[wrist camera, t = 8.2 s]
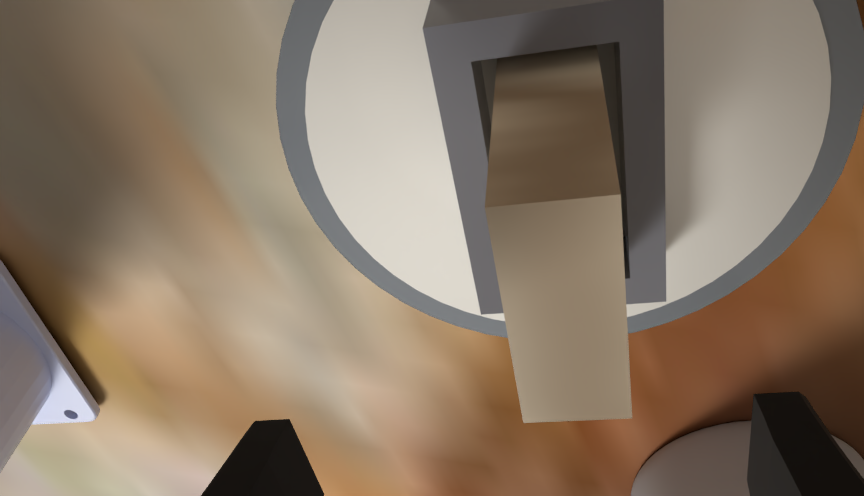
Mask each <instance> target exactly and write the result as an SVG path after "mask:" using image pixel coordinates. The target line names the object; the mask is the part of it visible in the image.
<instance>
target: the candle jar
mask: <svg viewBox="0 0 864 496" xmlns="http://www.w3.org/2000/svg"><path fill="white" fill-rule="evenodd" d="M590 45H597V50H598V56H599V62H600V68H601V75H602V81H603V87H604V93H605V99H606V106H607V112H608V118H609V124H610V130H611V137H612V143H613V149H614V155H615V161H616V168H617V174H618V180H619V186H620V193H621V208H622V228H623V248H624V268H625V288H626V308H627V328H628V333H633V332H638V331H641V330H645V329H648V328H651V327H655V326H658V325H661V324H664V323H668V322H671V321H673V320H675V319H678V318H680V317H683V316H685V315H688V314H690V313H692V312H695V311H697V310H700V309H701V308H703V307H705V306H707V305H709V304H711V303H713V302H715V301H717V300H718V299H720V298H722V297H724V296H726V295H728V294H729V293H731V292H732V291H734V290H735V289H737V288H738V287H740V286H741V285H743V284H744V283H746V282H747V281H749V280H750V279H752V278H753V277H755V276H756V275H757V274H758V273H760V272H761V271H762V270H763V269H764V268H766V267H767V266H768V265H769V264H770V263H771V262H773V261H774V260H775V259H776V258H777V257H779V256H780V255H781V254H782V253H783V252H784V251H785V250H786V249H787V248H788V247H789V246H790V245H791V243H792V242H793V241H794V240H795V239H796V238H797V237H798V236H799V235H800V234H801V233H802V232H803V231H804V230H805V228H806V227H807V226H808V224H809V223H810V222H811V220H812V219H813V218H814V216H815V215H816V214H817V212H818V211H819V210H820V208H821V207H822V206H823V204H824V203H825V201H826V200H827V198H828V196H829V194H830V193H831V191H832V189H833V187H834V185H835V184H836V182H837V180H838V178H839V177H840V175H841V173H842V171H843V169H844V166H845V163H846V161H847V158H848V156H849V153H850V151H851V148H852V146H853V143H854V141H855V138H856V134H857V130H858V125H859V121H860V117H861V113H862V109H863V105H864V30H863V26H862V22H861V18H860V14H859V9H858V5H857V1H856V0H295V2H294V4H293V6H292V9H291V13H290V16H289V19H288V22H287V25H286V29H285V32H284V35H283V38H282V43H281V49H280V56H279V62H278V68H277V86H276V109H277V117H278V124H279V132H280V139H281V143H282V147H283V150H284V154H285V157H286V161H287V165H288V168H289V171H290V173H291V176H292V178H293V180H294V183H295V185H296V187H297V190H298V192H299V194H300V197H301V198H302V200H303V202H304V204H305V205H306V207H307V209H308V210H309V212H310V214H311V215H312V217H313V219H314V220H315V222H316V224H317V225H318V226H319V228H320V229H321V230H322V231H323V233H324V234H325V235H326V237H327V238H328V239H329V240H330V242H331V243H332V244H333V246H334V247H335V248H336V249H337V250H338V251H339V252H340V253H341V254H342V255H343V256H344V257H345V258H346V259H347V260H348V261H349V262H350V263H351V264H352V265H353V266H354V267H355V268H356V269H357V270H358V271H360V272H361V273H362V274H363V275H365V276H366V277H367V278H368V279H370V280H371V281H372V282H373V283H375V284H376V285H377V286H378V287H380V288H381V289H383V290H385V291H386V292H388V293H389V294H391V295H392V296H394V297H395V298H397V299H399V300H400V301H402V302H403V303H405V304H407V305H409V306H411V307H413V308H415V309H417V310H419V311H421V312H423V313H425V314H427V315H429V316H432V317H434V318H437V319H440V320H442V321H445V322H448V323H450V324H453V325H456V326H459V327H462V328H466V329H470V330H473V331H477V332H481V333H484V334H489V335H495V336H501V337H506V338H508V334H507V329H506V323H505V318H504V312H503V306H502V301H501V295H500V290H499V284H498V279H497V273H496V267H495V262H494V256H493V251H492V245H491V240H490V234H489V229H488V223H487V217H486V212H485V198H486V186H487V174H488V162H489V150H490V138H491V126H492V114H493V102H494V90H495V78H496V66H497V58H502V57H509V56H516V55H524V54H531V53H539V52H546V51H553V50H561V49H568V48H575V47H583V46H590Z"/></svg>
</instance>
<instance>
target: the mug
mask: <svg viewBox="0 0 864 496" xmlns="http://www.w3.org/2000/svg"><path fill="white" fill-rule="evenodd" d="M750 434H751V421H739V422H732V423H725V424H720V425H716V426H712V427H707V428H704V429H701V430H698V431H695V432H692V433H689V434H687V435H685V436H682V437H680V438H678V439H676V440H674V441H673V442H671V443H669V444H667V445H665V446H664V447H663V448H661V449H660V450H659V451H657V452H656V453H655V454H654V455H653V456H651V457H650V458H649V459H648V460H647V461H646V463H645V464H644V465H643V467H642V468H641V469H640V471H639V472H638V474H637V476H636V478H635V480H634V483H633V486H632V491H631V496H750V493H749V488H748V483H747V471H748V458H749V446H750ZM832 437H833V438H834V439H835V441H836V442H837V444H838V445H839V446H840V448H841V449H842V451H843V452H844V453H845V455H846V456H847V457H848V459H849V460H850V461H851V463H852V464H853V465H854V467H855V468H856V469H857V471H858V472H859V473H860V475H861V476H862V477H863V478H864V460H863V458H862V457H861V456H860V455H859V454H858V453H857V452H856V451H855V450H854V449H853V448H852V447H851V446H849V445H848V444H847V443H845V442H844V441H842V440H840V439H839V438H837V437H835V436H833V435H832Z"/></svg>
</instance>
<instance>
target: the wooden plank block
mask: <svg viewBox="0 0 864 496" xmlns="http://www.w3.org/2000/svg"><path fill="white" fill-rule="evenodd" d="M485 212H486V217H487V223H488V229H489V234H490V240H491V245H492V251H493V256H494V262H495V267H496V273H497V279H498V284H499V290H500V295H501V301H502V306H503V312H504V318H505V323H506V329H507V334H508V340H509V345H510V351H511V357H512V362H513V368H514V373H515V379H516V384H517V390H518V395H519V401H520V407H521V412H522V418H523V423H531V422H555V421H579V420H603V419H627V418H632V407H631V387H630V367H629V347H628V328H627V308H626V288H625V268H624V248H623V228H622V208H621V193H620V186H619V180H618V174H617V168H616V161H615V155H614V149H613V143H612V137H611V130H610V124H609V118H608V112H607V106H606V99H605V93H604V87H603V81H602V75H601V68H600V62H599V56H598V50H597V45H590V46H583V47H575V48H568V49H561V50H553V51H546V52H539V53H531V54H524V55H516V56H509V57H502V58H497V66H496V78H495V90H494V102H493V114H492V126H491V138H490V150H489V162H488V174H487V186H486V198H485Z"/></svg>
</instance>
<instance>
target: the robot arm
mask: <svg viewBox="0 0 864 496" xmlns="http://www.w3.org/2000/svg"><path fill="white" fill-rule="evenodd" d="M99 412H100V408H99V406H98V404H97V403H96V401H95V400H94V398H93V397H92V395H91V394H90V392H89V391H88V389H87V388H86V386H85V385H84V383H83V382H82V380H81V379H80V377H79V376H78V374H77V373H76V371H75V370H74V368H73V367H72V365H71V364H70V362H69V361H68V359H67V358H66V356H65V355H64V353H63V352H62V350H61V349H60V347H59V346H58V344H57V343H56V341H55V340H54V338H53V337H52V336H51V334H50V333H49V331H48V330H47V328H46V327H45V325H44V324H43V322H42V321H41V319H40V318H39V316H38V315H37V313H36V312H35V310H34V309H33V307H32V306H31V304H30V303H29V301H28V300H27V298H26V297H25V295H24V294H23V292H22V291H21V289H20V288H19V286H18V285H17V283H16V282H15V280H14V279H13V277H12V276H11V274H10V273H9V271H8V270H7V268H6V267H5V265H4V264H3V262H2V261H1V260H0V473H1V471H2V469H3V468H4V466H5V465H6V463H7V462H8V460H9V458H10V457H11V455H12V454H13V452H14V451H15V449H16V448H17V446H18V444H19V443H20V441H21V440H22V438H23V437H24V435H25V433H26V432H27V430H28V429H29V427H30V426H31V424H52V423H72V422H90V421H94V420H95V419H96V418H97V416H98V414H99ZM747 483H748V488H749V493H750V496H864V478H863V477H862V476H861V475H860V473H859V472H858V471H857V469H856V468H855V467H854V465H853V464H852V463H851V461H850V460H849V459H848V457H847V456H846V455H845V453H844V452H843V451H842V449H841V448H840V446H839V445H838V444H837V442H836V441H835V439H834V438H833V437H832V435H831V434H830V432H829V431H828V430H827V428H826V427H825V425H824V424H823V422H822V421H821V419H820V418H819V416H818V415H817V413H816V412H815V411H814V409H813V407H812V406H811V404H810V403H809V401H808V400H807V398H806V397H805V396H804V395H802V394H801V393H800V392H784V393H765V394H754V397H753V409H752V421H751V434H750V446H749V458H748V471H747ZM201 496H324V493H323V491H322V489H321V486H320V484H319V482H318V480H317V478H316V476H315V473H314V471H313V469H312V467H311V465H310V463H309V460H308V458H307V456H306V454H305V452H304V450H303V447H302V445H301V443H300V441H299V439H298V437H297V434H296V432H295V430H294V428H293V426H292V424H291V422H290V419H284V420H266V421H255V422H254V423H253V424H252V425H251V427H250V428H249V429H248V431H247V432H246V433H245V435H244V436H243V438H242V439H241V440H240V442H239V443H238V445H237V446H236V447H235V449H234V450H233V452H232V453H231V454H230V456H229V457H228V459H227V460H226V462H225V463H224V464H223V466H222V467H221V469H220V470H219V471H218V473H217V474H216V476H215V477H214V478H213V480H212V481H211V483H210V484H209V485H208V487H207V488H206V490H205V491H204V492H203V494H202V495H201Z"/></svg>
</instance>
